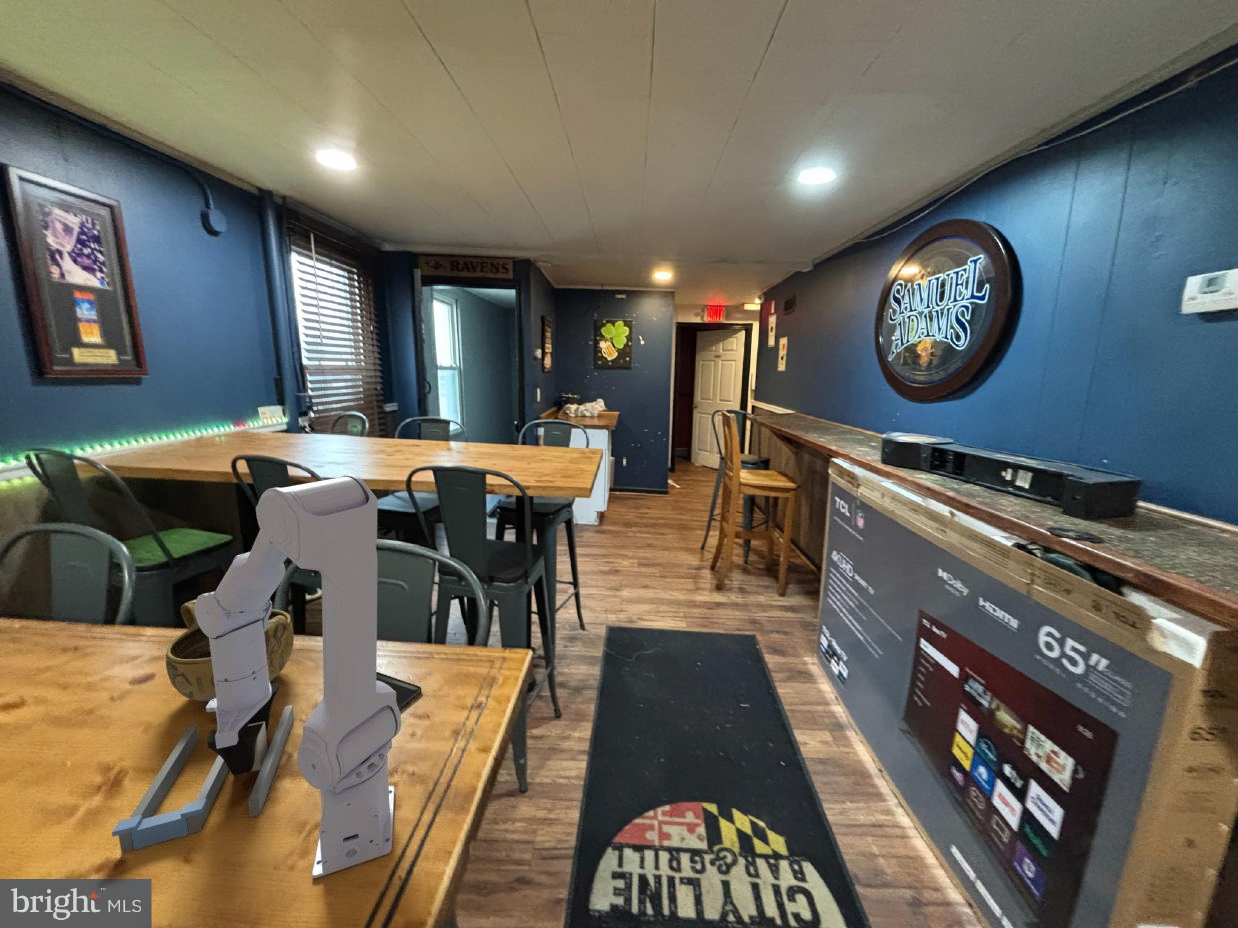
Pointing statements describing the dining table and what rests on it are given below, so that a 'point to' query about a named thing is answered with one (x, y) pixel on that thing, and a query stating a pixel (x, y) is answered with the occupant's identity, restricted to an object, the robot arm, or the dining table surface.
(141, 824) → the metal rails
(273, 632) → the ceramic bowl
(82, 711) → the dining table surface
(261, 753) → the cream rectangular box
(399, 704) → the black tray
